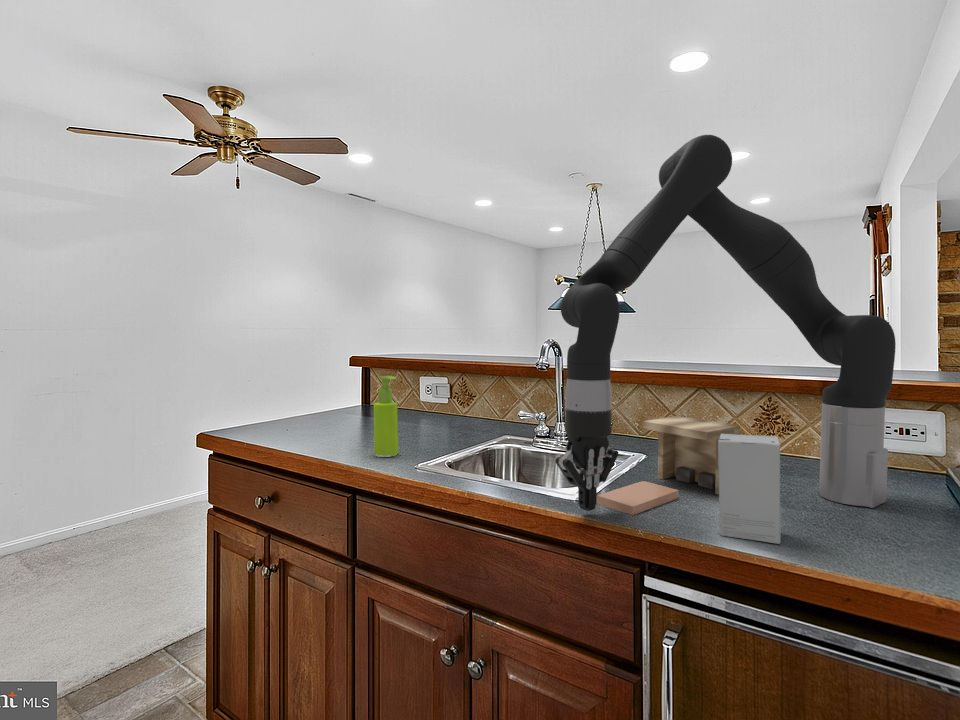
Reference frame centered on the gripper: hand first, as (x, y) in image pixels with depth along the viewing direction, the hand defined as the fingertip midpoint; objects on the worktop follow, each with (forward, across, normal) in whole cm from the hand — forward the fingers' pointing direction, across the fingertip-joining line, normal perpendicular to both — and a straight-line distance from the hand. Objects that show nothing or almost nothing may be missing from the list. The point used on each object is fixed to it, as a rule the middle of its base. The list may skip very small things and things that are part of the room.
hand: (587, 508), depth 86 cm
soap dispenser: (+1, -10, +58) cm, 59 cm away
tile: (+2, +13, 0) cm, 13 cm away
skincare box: (+1, +14, -20) cm, 24 cm away
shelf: (+1, +28, 0) cm, 28 cm away
